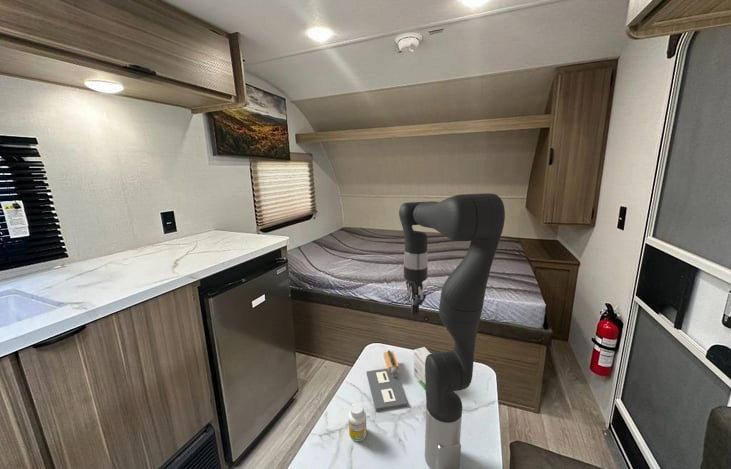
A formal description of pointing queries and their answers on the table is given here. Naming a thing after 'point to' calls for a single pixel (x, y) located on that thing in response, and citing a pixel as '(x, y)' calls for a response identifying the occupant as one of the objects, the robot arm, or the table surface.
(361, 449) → the table surface
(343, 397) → the table surface
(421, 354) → the ink box
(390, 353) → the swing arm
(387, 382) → the tray
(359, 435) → the supplement bottle
